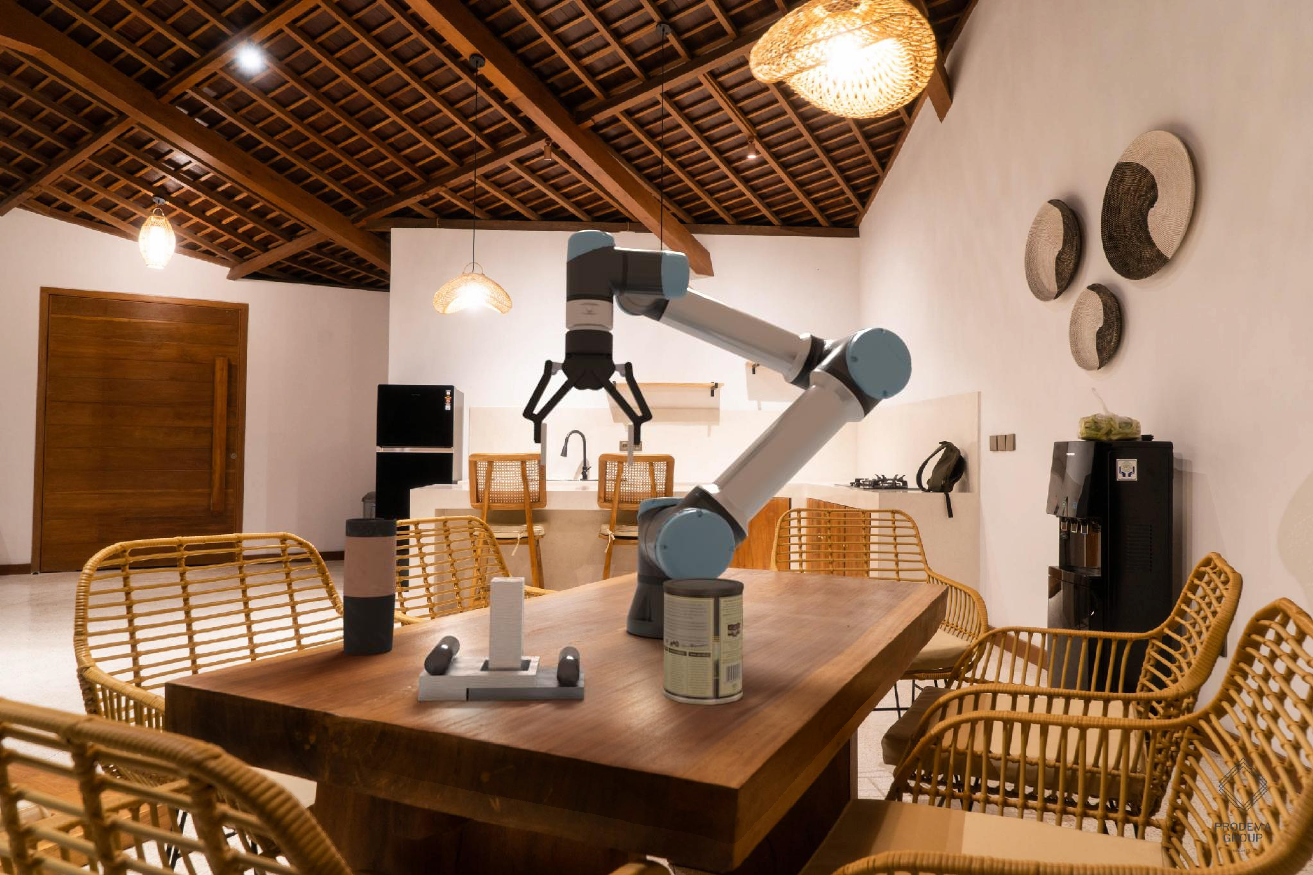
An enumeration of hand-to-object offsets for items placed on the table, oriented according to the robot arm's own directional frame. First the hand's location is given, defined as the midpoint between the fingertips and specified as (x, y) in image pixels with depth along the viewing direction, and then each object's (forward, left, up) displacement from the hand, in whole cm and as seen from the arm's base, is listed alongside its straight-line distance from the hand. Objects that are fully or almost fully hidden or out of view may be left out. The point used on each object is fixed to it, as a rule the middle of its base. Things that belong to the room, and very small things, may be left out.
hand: (587, 466), depth 129 cm
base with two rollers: (+10, +22, -29) cm, 38 cm away
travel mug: (+33, -1, -29) cm, 44 cm away
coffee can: (-15, +25, -29) cm, 41 cm away
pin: (+10, +22, -29) cm, 38 cm away
